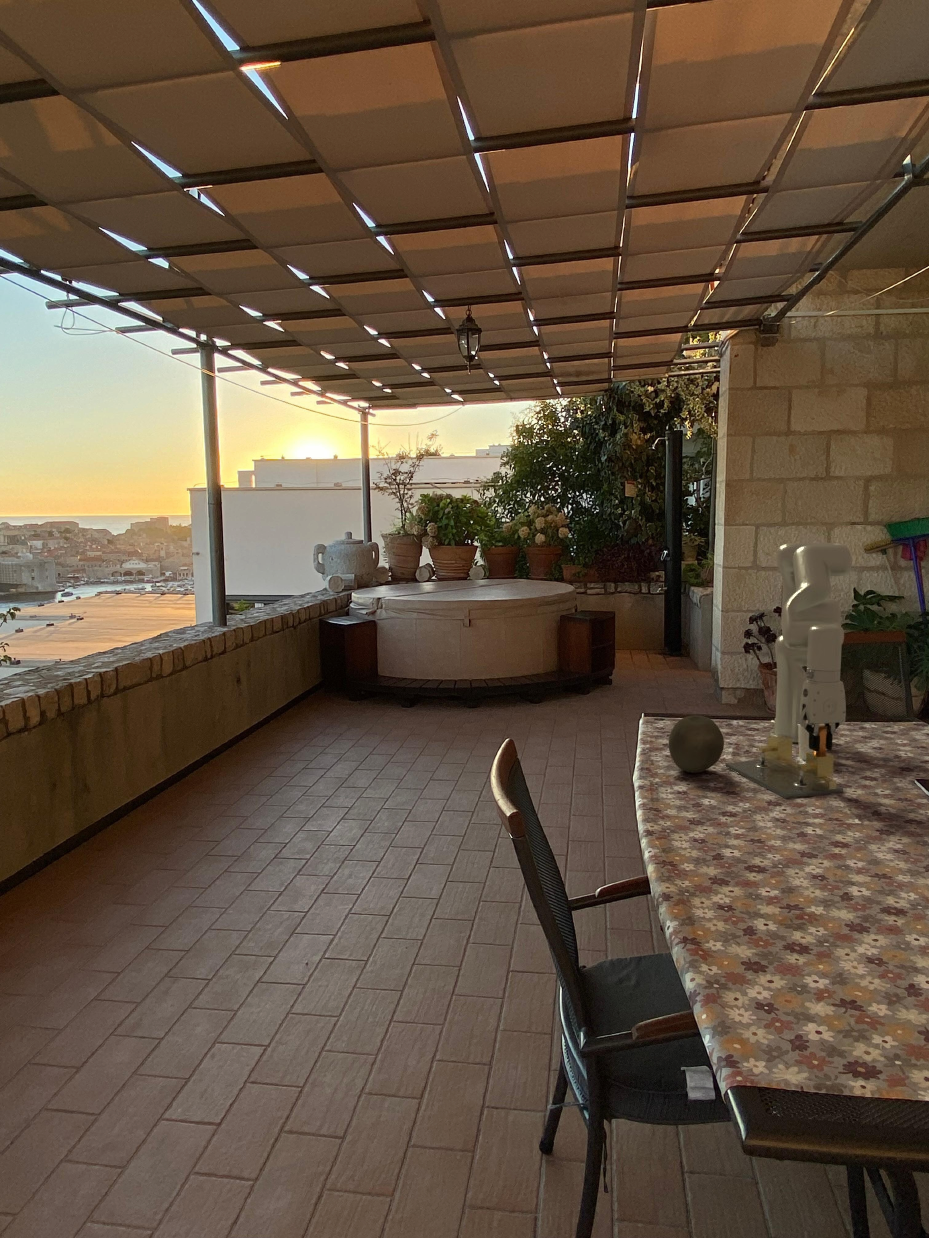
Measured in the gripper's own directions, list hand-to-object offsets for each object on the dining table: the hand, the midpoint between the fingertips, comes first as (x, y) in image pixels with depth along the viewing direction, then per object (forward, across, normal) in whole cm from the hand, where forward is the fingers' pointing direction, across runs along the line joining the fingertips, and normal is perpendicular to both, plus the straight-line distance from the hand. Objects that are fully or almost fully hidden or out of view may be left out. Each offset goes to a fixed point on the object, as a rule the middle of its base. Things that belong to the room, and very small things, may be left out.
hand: (820, 748), depth 205 cm
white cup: (+10, +14, +21) cm, 27 cm away
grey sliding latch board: (+10, -5, +8) cm, 13 cm away
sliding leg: (+8, -2, 0) cm, 8 cm away
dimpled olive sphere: (+10, -23, +19) cm, 31 cm away
